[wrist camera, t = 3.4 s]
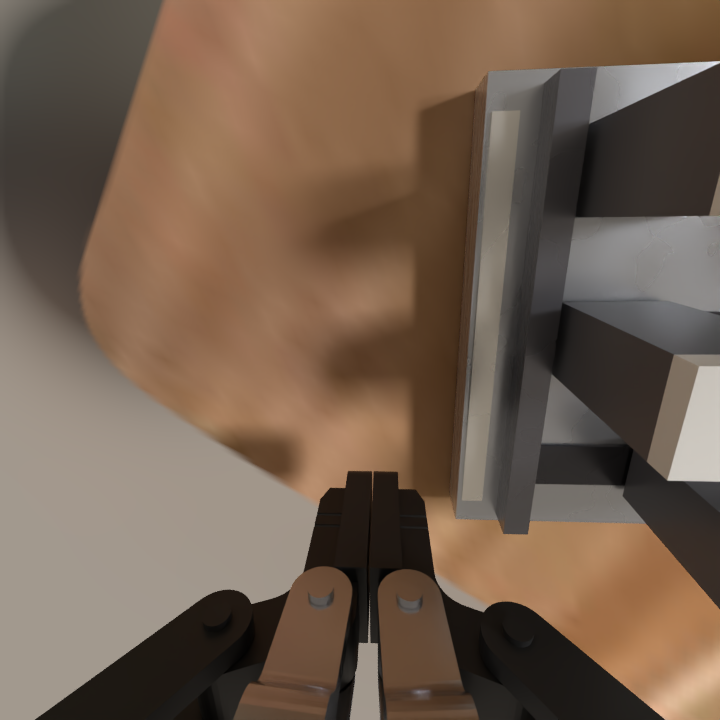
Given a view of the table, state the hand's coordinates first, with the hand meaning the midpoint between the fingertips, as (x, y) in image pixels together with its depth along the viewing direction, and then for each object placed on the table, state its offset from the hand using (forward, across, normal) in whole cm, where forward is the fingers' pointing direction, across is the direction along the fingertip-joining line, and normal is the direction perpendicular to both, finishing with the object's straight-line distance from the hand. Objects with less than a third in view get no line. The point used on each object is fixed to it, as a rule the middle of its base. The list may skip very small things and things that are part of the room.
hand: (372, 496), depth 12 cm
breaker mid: (+2, -7, -5) cm, 8 cm away
